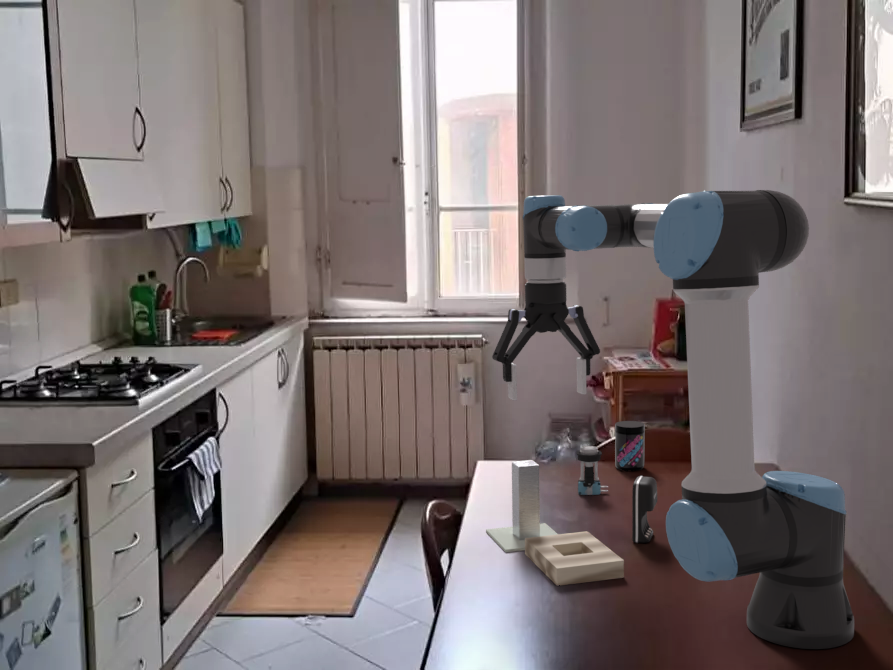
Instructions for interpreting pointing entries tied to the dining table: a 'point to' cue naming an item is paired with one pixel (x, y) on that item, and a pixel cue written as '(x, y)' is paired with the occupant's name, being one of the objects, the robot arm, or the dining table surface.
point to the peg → (525, 499)
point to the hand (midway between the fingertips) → (547, 396)
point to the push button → (589, 471)
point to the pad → (511, 542)
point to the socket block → (574, 558)
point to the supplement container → (629, 445)
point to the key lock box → (643, 507)
